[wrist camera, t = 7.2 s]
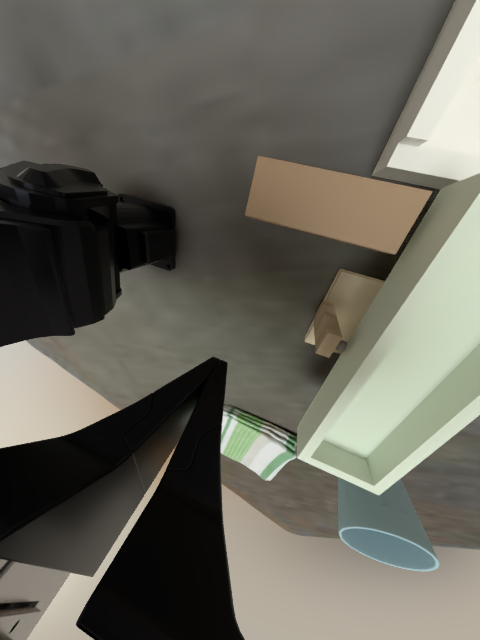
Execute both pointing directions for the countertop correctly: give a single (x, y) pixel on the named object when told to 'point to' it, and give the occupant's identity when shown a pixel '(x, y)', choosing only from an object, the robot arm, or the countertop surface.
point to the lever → (389, 318)
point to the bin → (441, 110)
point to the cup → (384, 526)
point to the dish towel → (255, 442)
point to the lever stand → (342, 311)
